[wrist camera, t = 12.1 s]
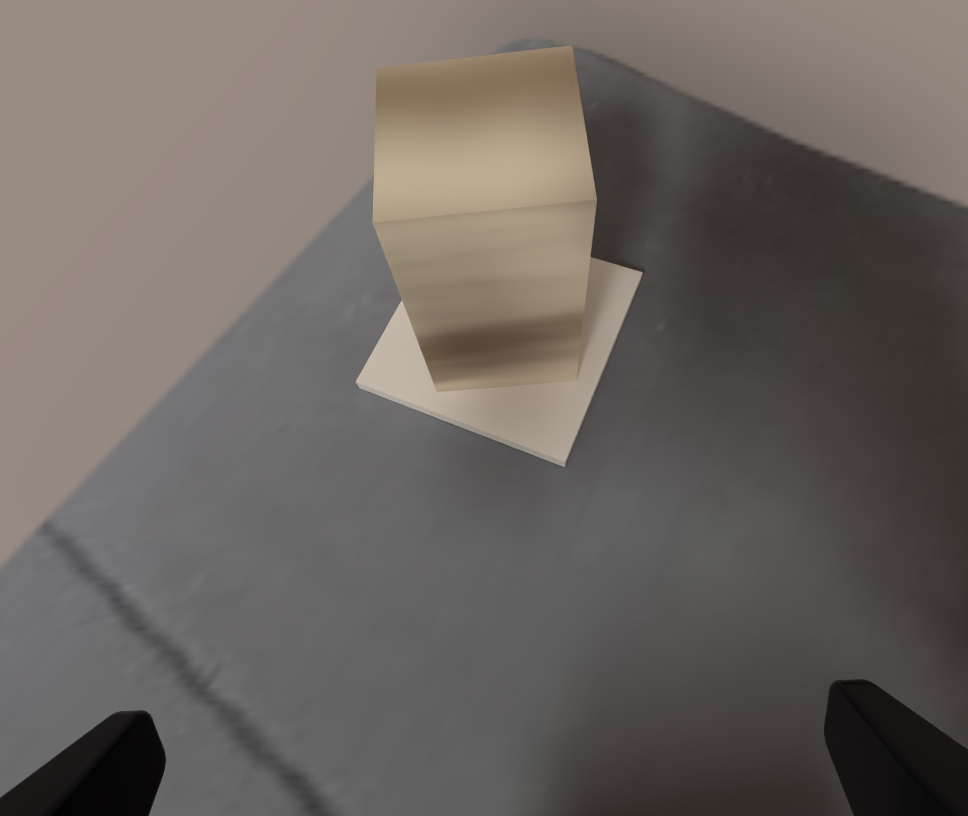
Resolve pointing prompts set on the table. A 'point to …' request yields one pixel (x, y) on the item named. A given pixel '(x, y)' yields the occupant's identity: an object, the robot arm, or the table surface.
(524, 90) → the brass block
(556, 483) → the table surface
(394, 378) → the cream tile
